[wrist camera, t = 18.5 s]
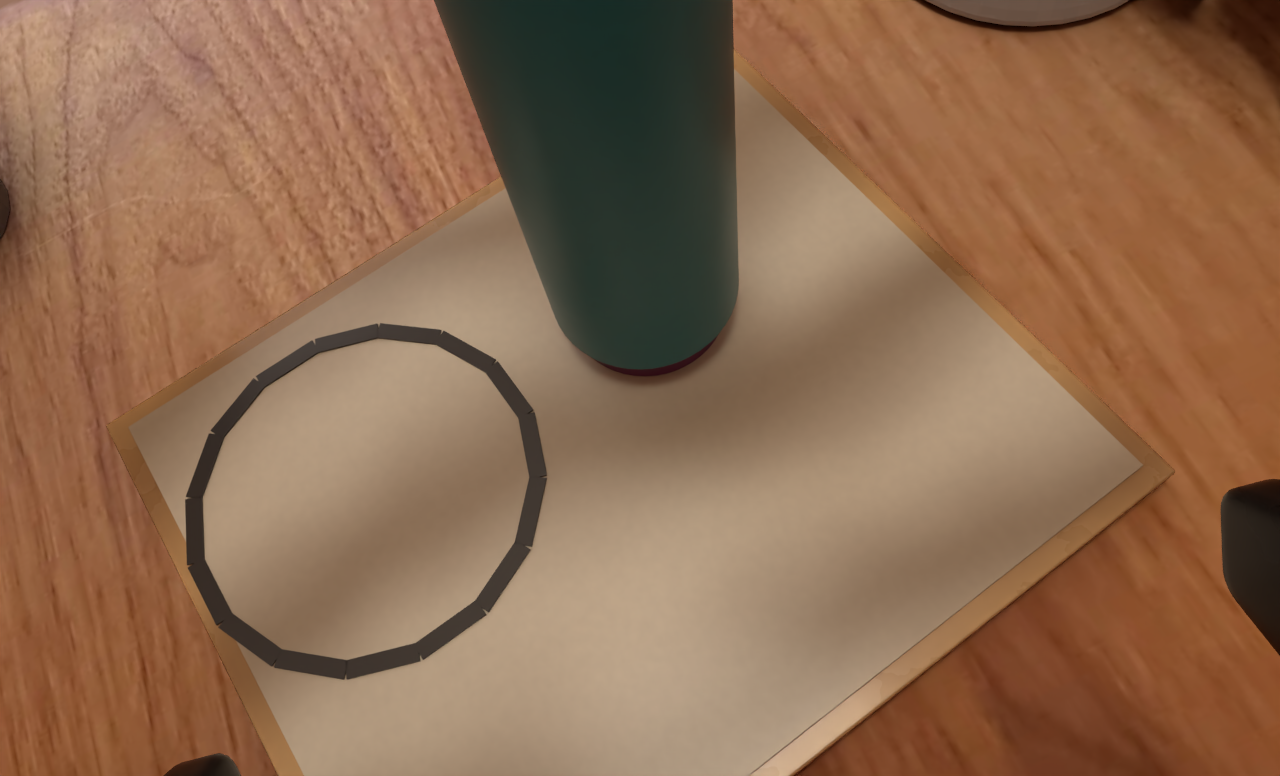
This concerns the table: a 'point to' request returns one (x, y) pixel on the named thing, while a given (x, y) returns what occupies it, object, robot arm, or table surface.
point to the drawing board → (623, 494)
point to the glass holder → (1028, 10)
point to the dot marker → (615, 162)
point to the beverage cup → (3, 207)
